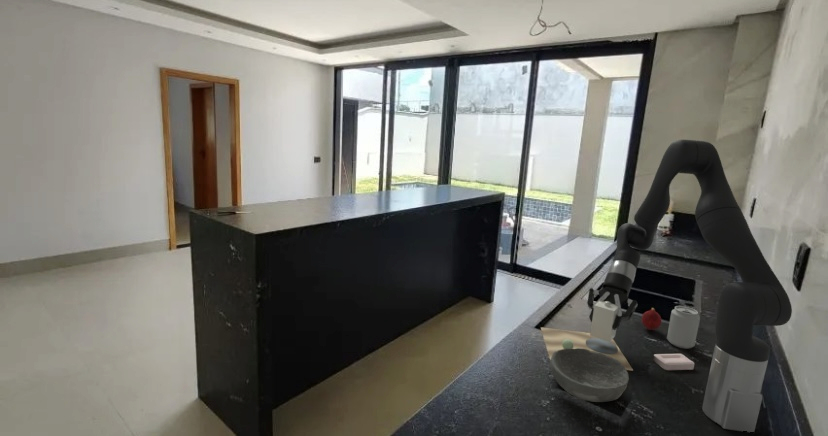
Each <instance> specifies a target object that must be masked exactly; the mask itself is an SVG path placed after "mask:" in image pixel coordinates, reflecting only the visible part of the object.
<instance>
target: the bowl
mask: <svg viewBox="0 0 828 436" xmlns="http://www.w3.org/2000/svg"><path fill="white" fill-rule="evenodd" d="M550 371H551V374H552V375H553V378H554V380H555V381H556V383H558V385H559V387H561V388H562V389H564V391H565V392H566V393H568V394H569V395H571V396H573V397H574V398H577V399H580V400H583V401H587V402H592V403H594V402H595V403H605V402H613V401H616V400H618V399H619V398H620V397H621V396H622V394H623V393H624V392H625V391H626V389H627V388H628V382H629V380H630V378H629V372H628V370H626V369H625V367H624V366H623V365H622V364H621V362H619V361H618V360H616V359H614V358H612V357H610V356H606V355H604V354H601V353H597V352H594V351H590V350H587V349H579V348H577V349H570V348H569V349H562V350H558V351H555V352H554V353H553V355H552V357H551V360H550Z"/></svg>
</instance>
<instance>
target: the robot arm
mask: <svg viewBox="0 0 828 436" xmlns="http://www.w3.org/2000/svg"><path fill="white" fill-rule="evenodd" d="M658 165H659V166H658V168H657V169H656V173H655V175H654V178H653V180H652V182H651V185H650V188H649V190H648V193H647V194H646V196H645V198H644V200H643V201H642V203H641V205H640V206H639V207H638V210H637V211H636V212H635V214H634V215H633V219H634V223H636V224H637V225H635V224H632V223H629V222H627V223H623V224H620V225H621V226H619V227H618V229H617V233H616V251H615V255H614V256H613V260H612V263H611V264H610V266H609V268H608V270H607V273H606V276H605V279H604V281H603V284H602V286H601V288H600V289H597V290H596V289H594V288H592V287H591V288H590V287H589V291H588V296H587V304H586V305H587V307H588V308H589V309H590V310H591V311H590V313H589V317H588V318H589V320H590V322H591V323H592V318H593V311H594V305H595V304H596V303H597V302H599V301H601V302H603V301H608V302H610V303H612V304H615V305H616V306H618V307H619V308H618V312H617V316H616V317H615V320H614V323H613V326H612V328H613V330H616V331H617V330H618V329H619V327H620V325H621V323H622V320H626V321H629V320H630V319H631V318H632V316H633V315H634V313H635V311H636V309H638V306H639V305H638V301H637V300H636V299H631V298H629V294H630V292H631V288H632V286H633V283H634V281H635V277H636V273H637V269H638V266H639V263H640V260H641V255H640V253H639V252H638V251H646V250H648V249H649V248H651V246H652V245H653V241H654V237H655V232H656V231H657V228H658V226H659V224H660V222H661V221H662V219H663V218H664V217H665V215H666V214H667V212H668V210H669V208H670V204H671V196H670V186H671V183H672V182H673V180H674V179H675V177H676V176H677V175H678V174H685V175H686V174H689V175H693V176H694V177H695V178H696V179H697V180H696V181H697V182H698V184H699V187H700V196H699V199H698V201H697V204H696V207H695V210H694V217H695V220H696V224H697V226H698V229H699V231H700V233H701V235H702V237H703V239H704V241H705V242H706V243H707V244H708V245H709V246H710V248H712V249H713V250H714V251H715V252H716V253H718V254H719V255H720V257H722V258H723V259H725V260H726V261H727V262H728V263H729V264H730V265H731V266H732V267H733V268H734V269H735V271H736V272H737V273H738V275H739V277H740V279H741V281H742V282H741V281H739V282H738V281H737V282H736V281H734V282H729V283H727V284H726V285H725V286H724V287H723V288H722V289H721V291H720V294H719V297H718V304H717V311H716V317H715V324H714V325H715V327H714V329H715V330H714V331H715V337H716V340H715V346H714V349H713V353H712V360H711V364H710V369H709V373H708V379H707V383H706V388H705V393H704V398H703V402H702V412H703V414H704V415H705V416H707V418H709V419H710V420H711V421H713V422H714V423H717V424H718V425H719V426H721V428H722V429H725V430H730V431H737V432H743V431H747V432H746V433H750V432H754V433H755V430H756V425H757V421H758V418H759V413H760V410H761V404H762V401H763V395H762V393H761V392H762V387H763V382H764V380H765V374H766V371H767V366H768V362H769V358H770V354H771V347H770V346H769V344H768V343H767V342H765V341H764V340H763V339H760V338H759V337H757V336H755V335H753V331H754V326H764V327H765V326H766V327H769V326H770V327H771V326H772V327H777V326H782V325H783V326H784V325H785V324H787V323H788V322H789V321H790V319H791V317H792V313H793V309H792V303H791V300H790V297H789V295H788V293H787V292H786V290H785V288H784V287H783V285H782V283H781V282H780V280H779V278H778V277H777V275H776V274H775V272H774V271H773V269H772V267H771V266H770V265H769V263H768V261H767V259H766V258H765V256H764V254H763V253H762V251H761V249H760V247H759V244H758V243H757V241H756V239H755V237H754V235H753V233H752V231H751V228H750V226H749V224H748V221H747V220H746V218H745V215H744V213H743V211H742V209H741V208H740V205H739V203H738V202H737V200H736V198H735V194H734V193H733V191H732V189H731V185H730V184H729V182H728V180H727V177H726V173H725V170H724V167H723V164H722V161H721V158H720V154H719V153H718V150H717V148H716V147H715V145H714V144H712V143H711V142H709V141H705V140H694V139H676V140H674V141H672V142H671V143H670V144H669V145H668V147H667V148H666V150H665V152H664V154H663V156H662V158H661V160H660V164H658ZM635 249H636V250H635ZM637 250H638V251H637ZM598 295H599V298H598V300H596V302H595V303H594V299H595V298H596V297H597V296H598ZM626 304H627V306H628V308H627V309H626V311H625V312H624V313H623V312H622V311H623V310H622V306H624V305H626Z"/></svg>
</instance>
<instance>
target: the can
mask: <svg viewBox="0 0 828 436" xmlns="http://www.w3.org/2000/svg"><path fill="white" fill-rule="evenodd" d="M700 320H701V317H700V315H699V312H698V310H696V309H694V308H692V307H688V306H685V305H676V306H674V309H672V310H671V313H670V318H669V324H668V329H667V330H668V331H667V335H666V339H667V341H668V342H669V343H670V344H671V345H673V346H674V347H677V348H680V349H691V348H694V347H696V346H695V345H696V340H697V334H698V330H699V325H700Z"/></svg>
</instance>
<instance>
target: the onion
mask: <svg viewBox="0 0 828 436" xmlns="http://www.w3.org/2000/svg"><path fill="white" fill-rule="evenodd" d="M661 317H662V316H661V315H660V313H658V312H657V311H656V309H655V308H654V307H651V309H649V310H647V311H645V312H643V313H642V316H641V322H642V324H643V326H644V327H645V328H646V329H647V330H649V331H652V330H655V329H656V330H657V329H658V328H659V327H660V326H661V324H662V318H661Z"/></svg>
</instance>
